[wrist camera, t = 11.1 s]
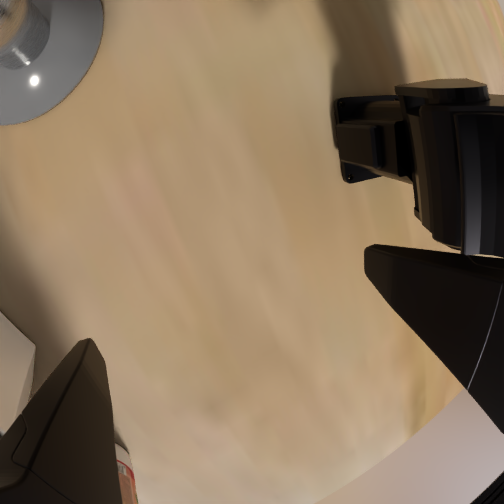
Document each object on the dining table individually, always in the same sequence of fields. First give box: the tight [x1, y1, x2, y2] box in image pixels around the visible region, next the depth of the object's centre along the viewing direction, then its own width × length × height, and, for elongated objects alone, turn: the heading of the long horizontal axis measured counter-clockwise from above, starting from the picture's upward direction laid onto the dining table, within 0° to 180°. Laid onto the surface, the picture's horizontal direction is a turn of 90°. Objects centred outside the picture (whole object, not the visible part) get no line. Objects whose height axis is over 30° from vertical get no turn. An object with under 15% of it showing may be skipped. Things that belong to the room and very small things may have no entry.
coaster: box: [0, 0, 104, 125], centre depth 12 cm, size 11×11×1 cm
